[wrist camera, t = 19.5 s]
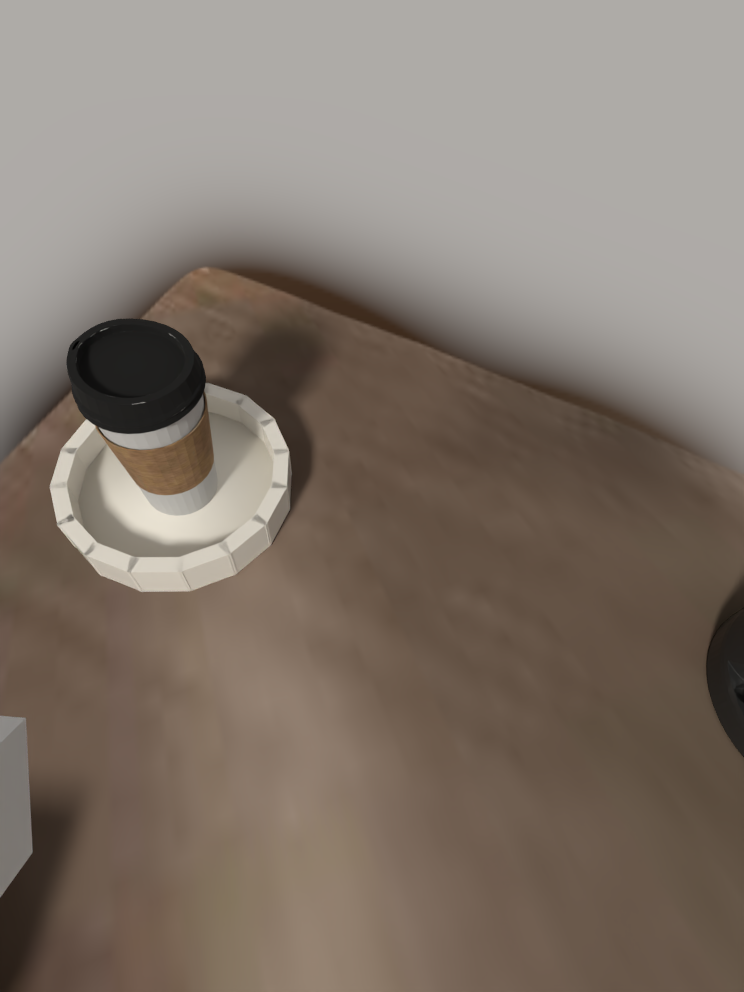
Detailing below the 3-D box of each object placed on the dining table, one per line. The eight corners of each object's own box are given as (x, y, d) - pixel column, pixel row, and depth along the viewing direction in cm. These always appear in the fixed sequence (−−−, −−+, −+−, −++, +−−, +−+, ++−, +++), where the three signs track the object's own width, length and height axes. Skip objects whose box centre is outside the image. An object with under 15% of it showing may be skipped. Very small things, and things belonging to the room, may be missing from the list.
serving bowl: (201, 378, 58) (193, 351, 55) (335, 491, 52) (335, 468, 49) (24, 491, 50) (5, 467, 47) (158, 640, 44) (145, 623, 41)
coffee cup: (154, 437, 53) (96, 300, 40) (246, 456, 52) (217, 322, 40) (112, 518, 48) (33, 391, 36) (213, 539, 48) (168, 418, 35)
